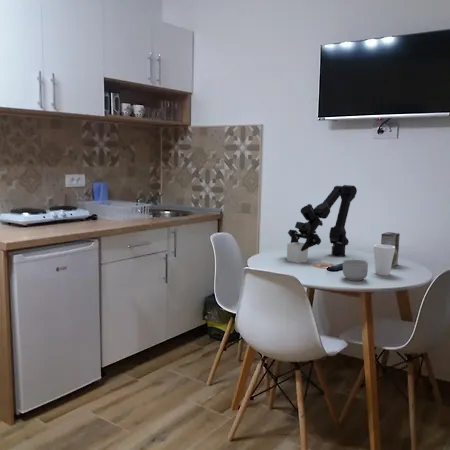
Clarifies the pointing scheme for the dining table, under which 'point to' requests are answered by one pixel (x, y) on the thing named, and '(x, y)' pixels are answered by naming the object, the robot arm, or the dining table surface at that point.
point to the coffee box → (391, 240)
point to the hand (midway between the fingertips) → (295, 249)
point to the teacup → (355, 269)
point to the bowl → (325, 263)
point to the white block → (296, 252)
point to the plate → (318, 265)
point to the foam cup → (383, 258)
